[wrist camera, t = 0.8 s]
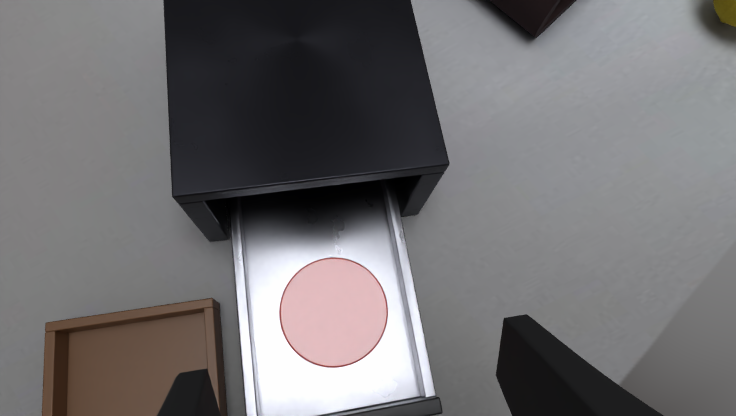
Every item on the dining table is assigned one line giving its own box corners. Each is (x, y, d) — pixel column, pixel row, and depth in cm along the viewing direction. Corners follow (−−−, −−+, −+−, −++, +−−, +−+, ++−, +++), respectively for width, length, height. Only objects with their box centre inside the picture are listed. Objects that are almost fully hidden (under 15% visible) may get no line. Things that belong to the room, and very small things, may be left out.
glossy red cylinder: (380, 360, 27) (397, 357, 22) (292, 376, 27) (285, 377, 21) (366, 274, 29) (378, 250, 23) (282, 286, 28) (273, 265, 22)
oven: (418, 214, 31) (450, 164, 24) (209, 242, 29) (171, 196, 22) (376, 13, 36) (391, -81, 29) (194, 26, 34) (159, -72, 27)
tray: (230, 461, 26) (223, 468, 24) (59, 495, 24) (38, 505, 23) (219, 302, 28) (212, 297, 26) (63, 326, 27) (45, 322, 25)
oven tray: (431, 409, 27) (443, 413, 25) (252, 444, 26) (246, 451, 23) (383, 160, 32) (389, 142, 30) (230, 177, 31) (222, 160, 28)
